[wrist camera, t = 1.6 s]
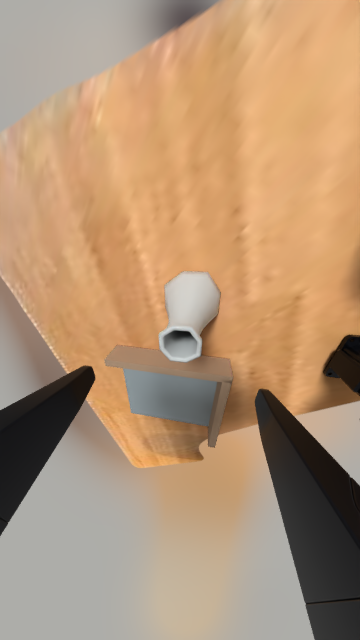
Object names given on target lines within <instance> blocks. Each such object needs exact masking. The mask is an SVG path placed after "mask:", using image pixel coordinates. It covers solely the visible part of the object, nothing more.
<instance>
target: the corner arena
mask: <svg viewBox="0 0 360 640" xmlns="http://www.w3.org/2000/svg"><path fill="white" fill-rule="evenodd" d="M104 360H105V364H106V366H110V367H117V368H123V371H124V376H125V381H126V387H127V392H128V398H129V403H130V408H131V413H135V414H141V415H146V416H152V417H158V418H163V419H169V420H174V421H180V422H186V423H191V424H197V425H202V426H208V446H210V447H215V445H216V441H217V437H218V433H219V429H220V426H221V422H222V418H223V414H224V410H225V407H226V403H227V399H228V395H229V391H230V388H231V384H232V380H233V374H232V368H231V363H230V359H227V358H219V357H210V356H202V355H201V356H200V357H198V358H196V359H194V360H192V361H189V362H187V363H184V362H175V361H170V360H169V359H168V358H167V357H166V356H165V355H164V354H163V352H162V351H161V350H154V349H146V348H138V347H130V346H122V345H116V346H115V348H114V349H113V350H112V351H111V352H110V353H109V355H108V356H107V357H106V358H105V359H104Z"/></svg>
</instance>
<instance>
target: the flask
mask: <svg viewBox="0 0 360 640" xmlns="http://www.w3.org/2000/svg"><path fill="white" fill-rule="evenodd" d="M164 286H165V307H166V311H167V314H168V318H169V323H168V326H167V328H166V329H165V330H163V331H161V332H160V333H159V347H160V350H161V351H162V352H163V354H164V355H165V356H166V357H167V358H168V359H169V360H170V361H175V362H184V363H187V362H189V361H192V360H194V359H196V358H198V357H200V356H201V349H202V338H201V337H200V334H201V332H202V330H203V329H204V328H205V326H206V325H207V324H208V323H209V322H210V321H211V320H212V319H213V318H214V317H216V316H217V315H218V310H219V303H220V295H221V292H220V290H219V289H218V287H217V285H216V284H215V282H214V281H213V279H212V278H211V276H210V274H209V273H208V272H193V271H183V272H181V273H180V274H179V275H177V276H176V277H174V278H173V279H172V280H170V281H169V282H168V283H166V284H165V285H164Z"/></svg>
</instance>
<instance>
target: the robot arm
mask: <svg viewBox="0 0 360 640" xmlns="http://www.w3.org/2000/svg"><path fill="white" fill-rule="evenodd" d="M350 339H351V340H350ZM324 374H325V375H326V376H328V377H335V378H341V379H342V380H343V381H344V382H345V383H346V384H347V385H348V387H349V388H350V389H351V390H352V391H353V392H356V393H357V394H358V395H359V396H360V335H348V336H346V337H345V338H344V340H343V342H342V343H341V345H340V346H339V348H338V350H337V351H336V353H335V354H334V356H333V358H332V359H331V361H330V362H329V364H328V366H327V367H326V369H325V370H324ZM94 381H95V374H94V371H93V368H92V367H91V366H82V367H80V368H78V369H76V370H75V371H73V372H71V373H69V374H67V375H66V376H63V377H62V378H60V379H58V380H56V381H54V382H52V383H50V384H49V385H47V386H45V387H43V388H41V389H39V390H37V391H36V392H34V393H32V394H30V395H28V396H26V397H25V398H23V399H21V400H19V401H17V402H15V403H13V404H11V405H10V406H8V407H6V408H4V409H2V410H0V536H1V534H2V532H3V531H4V529H5V528H6V526H7V524H8V522H9V521H10V519H11V518H12V516H13V515H14V513H15V511H16V510H17V508H18V507H19V505H20V504H21V502H22V500H23V499H24V497H25V496H26V494H27V492H28V490H29V489H30V488H31V486H32V484H33V483H34V481H35V480H36V478H37V476H38V475H39V473H40V471H41V470H42V469H43V467H44V465H45V464H46V462H47V461H48V459H49V457H50V456H51V454H52V453H53V451H54V449H55V448H56V446H57V445H58V443H59V442H60V440H61V438H62V437H63V435H64V434H65V432H66V430H67V429H68V427H69V426H70V424H71V422H72V421H73V419H74V418H75V416H76V414H77V413H78V411H79V410H80V408H81V406H82V404H83V402H84V400H85V399H86V397H87V395H88V393H89V391H90V389H91V387H92V385H93V383H94ZM255 406H256V413H257V419H258V425H259V430H260V436H261V441H262V445H263V448H264V452H265V456H266V460H267V463H268V466H269V470H270V474H271V478H272V482H273V485H274V489H275V493H276V497H277V500H278V504H279V508H280V511H281V515H282V519H283V523H284V527H285V530H286V534H287V538H288V541H289V545H290V549H291V553H292V556H293V560H294V564H295V567H296V571H297V575H298V579H299V582H300V586H301V589H302V593H303V597H304V601H305V603H306V609H307V613H308V616H309V620H310V624H311V628H312V631H313V635H314V639H315V640H360V486H359V485H358V484H357V483H356V481H355V480H354V479H353V478H351V477H350V476H349V474H348V473H347V472H346V471H345V470H344V469H343V468H342V467H341V466H340V465H339V464H338V462H336V460H335V459H333V457H332V456H331V455H330V454H329V453H328V452H327V451H326V450H325V449H324V448H323V447H322V446H321V445H320V443H319V442H318V441H317V440H316V439H315V438H314V437H313V436H312V435H311V434H310V433H309V432H308V431H307V430H306V429H305V428H304V427H303V426H302V424H301V423H300V422H299V421H298V420H297V419H296V418H295V417H294V416H293V415H292V414H291V413H290V412H289V411H288V410H287V409H286V407H285V406H284V405H283V404H282V403H281V402H280V401H279V400H278V399H277V398H276V397H275V396H274V395H273V394H272V393H271V392H270V391H269V390H267V389H259V391H258V393H257V396H256V398H255Z"/></svg>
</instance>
